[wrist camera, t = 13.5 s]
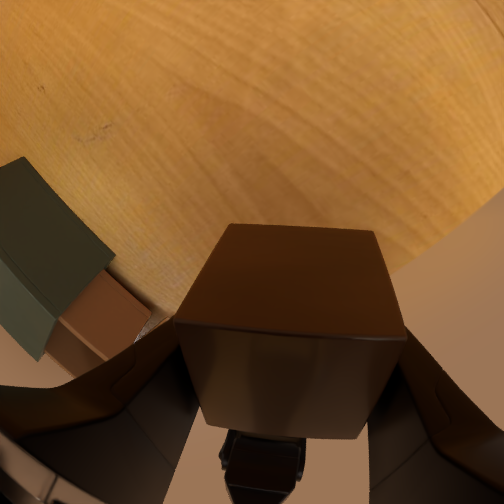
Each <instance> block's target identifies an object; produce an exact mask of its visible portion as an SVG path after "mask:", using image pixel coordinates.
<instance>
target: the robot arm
mask: <svg viewBox="0 0 504 504" xmlns="http://www.w3.org/2000/svg"><path fill="white" fill-rule="evenodd" d="M174 316H175V315H174ZM174 316H172V317H171V318H170V319H168V320H167V321H165V322H164V323H162V324H161V325H160V326H158V327H157V328H155V329H154V330H152V331H151V332H149V333H148V334H147V335H145V336H144V337H142V338H141V339H139V340H138V341H136V342H135V343H134V344H132V345H130V346H129V347H128V348H126V349H125V350H123V351H122V352H120V353H119V354H117V355H115V356H114V357H112V358H111V359H109V360H107V361H106V362H104V363H102V364H101V365H99V366H97V367H95V368H94V369H92V370H90V371H88V372H86V373H84V374H83V375H81V376H79V377H77V378H75V379H74V380H72V381H70V382H68V383H66V384H64V385H61V386H58V387H54V388H28V387H15V386H4V385H0V504H163V501H164V498H165V496H166V493H167V491H168V488H169V485H170V483H171V480H172V477H173V475H174V472H175V469H176V467H177V464H178V461H179V459H180V456H181V454H182V451H183V448H184V446H185V443H186V440H187V438H188V435H189V432H190V430H191V427H192V425H193V422H194V419H195V417H196V414H197V411H198V409H199V406H200V405H199V402H198V399H197V396H196V394H195V391H194V388H193V385H192V382H191V379H190V376H189V373H188V370H187V367H186V364H185V361H184V358H183V354H182V351H181V348H180V345H179V341H178V338H177V335H176V331H175V328H174V324H173V317H174ZM405 329H406V333H407V341H406V343H405V346H404V348H403V351H402V353H401V355H400V357H399V360H398V362H397V364H396V366H395V368H394V371H393V373H392V375H391V377H390V379H389V381H388V383H387V385H386V387H385V389H384V391H383V393H382V395H381V397H380V399H379V401H378V402H377V404H376V406H375V408H374V410H373V412H372V414H371V415H370V417H369V419H368V421H367V425H368V441H369V475H370V476H369V477H370V478H369V479H370V492H369V504H504V431H502V430H501V429H500V428H498V427H497V426H496V425H495V424H494V423H493V422H492V421H491V420H490V419H489V418H488V417H487V416H486V415H485V414H484V413H483V412H482V411H481V410H480V409H479V408H478V407H477V406H476V405H475V404H474V403H473V402H472V401H471V400H470V398H469V397H468V396H467V395H466V394H465V393H464V392H463V391H462V390H461V389H460V388H459V387H458V386H457V384H456V383H455V382H454V381H453V380H452V379H451V378H450V377H449V375H448V374H447V373H446V372H445V371H444V370H443V369H442V367H441V366H440V365H439V364H438V362H437V361H436V360H435V359H434V358H433V357H432V356H431V354H430V353H429V352H428V351H427V350H426V349H425V348H424V346H423V345H422V344H421V343H420V342H419V341H418V340H417V339H416V337H415V336H414V335H413V334H412V333H411V332H410V331H409V330H408V329H407V327H406V326H405ZM305 456H306V438H298V437H286V436H276V435H267V434H259V433H252V432H245V431H239V430H233V429H229V430H228V433H227V437H226V440H225V443H224V445H223V446H222V449H221V450H220V452H219V458H220V460H221V464H222V470H225V471H226V472H225V476H224V479H225V485H226V490H227V492H228V495H229V497H230V500H231V502H232V504H282V503H283V502H284V501H285V500H286V499H287V498H288V497H289V495H290V494H291V493H292V491H293V489H294V488H295V484H296V481H298V482H299V481H300V480H301V478H302V475H303V471H304V466H305Z"/></svg>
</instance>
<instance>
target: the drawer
mask: <svg viewBox="0 0 504 504" xmlns="http://www.w3.org/2000/svg"><path fill="white" fill-rule="evenodd" d="M151 314H152V312H151V311H149V310H148V309H147V308H146V307H145V306H144V305H142V304H141V303H140V302H139V301H138V300H137V299H136V298H134V297H133V296H132V295H131V294H130V293H129V292H128V291H127V290H125V289H124V288H123V287H122V286H121V285H120V284H119V283H118V282H117V281H116V280H114V279H113V278H112V277H111V276H110V275H109V274H108V273H107V272H106V271H105V270H104V269H103V270H102V271H101V272H100V273H99V274H98V275H97V276H96V277H95V278H94V279H93V280H92V281H91V282H90V283H89V285H88V286H87V287H86V288H85V289H84V290H83V291H82V292H81V293H80V294H79V295H78V297H77V298H76V299H75V300H74V301H73V302H72V303H71V304H70V305H69V307H68V308H67V309H66V310H65V311H64V312H63V313H62V315H61V316H60V317H59V319H58V321H57V323H56V325H55V327H54V329H53V332H52V334H51V336H50V338H49V341H48V343H47V345H46V347H45V350H44V352H45V353H46V354H47V355H48V356H49V357H50V358H51V359H52V360H53V361H54V362H56V363H57V364H58V365H59V366H60V367H61V368H63V369H64V370H65V371H66V372H67V373H68V374H70V375H71V376H72V377H73V378H74V379H75V378H77V377H79V376H81V375H83V374H84V373H86V372H88V371H90V370H92V369H94V368H95V367H97V366H99V365H101V364H102V363H104V362H106V361H107V360H109V359H111V358H112V357H114V356H115V355H117V354H119V353H120V352H122V351H123V350H125V349H126V348H128V347H129V346H130V345H132V344H133V342H134V341H135V339H136V337H137V336H138V334H139V333H140V331H141V329H142V328H143V326H144V325H145V323H146V322H147V320H148V318H149V317H150V315H151ZM168 319H170V318H169V317H167V318H166V319H164V320H163V321H162V322H161V323H159V324H158V325H157V326H156V327H154V328H153V329H152V330H154V329H155V328H157V327H158V326H160V325H161V324H162V323H164V322H165V321H167V320H168ZM152 330H151V331H152ZM151 331H149V332H151ZM149 332H148V333H149ZM148 333H147V334H148ZM147 334H146V335H147ZM144 336H145V335H144ZM144 336H143V337H144Z"/></svg>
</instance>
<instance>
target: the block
mask: <svg viewBox="0 0 504 504" xmlns="http://www.w3.org/2000/svg"><path fill="white" fill-rule="evenodd" d="M173 324H174V328H175V331H176V335H177V338H178V341H179V345H180V348H181V351H182V354H183V358H184V361H185V364H186V367H187V370H188V373H189V376H190V379H191V382H192V385H193V388H194V391H195V394H196V396H197V399H198V402H199V405H200V407H201V410H202V413H203V416H204V418H205V421H206V423H207V424H208V425H211V426H217V427H222V428H227V429H233V430H239V431H245V432H252V433H259V434H267V435H276V436H286V437H298V438H315V439H357V437H358V436H359V434H360V432H361V431H362V429H363V427H364V426H365V424H366V422H367V421H368V419H369V417H370V415H371V414H372V412H373V410H374V408H375V406H376V404H377V402H378V401H379V399H380V397H381V395H382V393H383V391H384V389H385V387H386V385H387V383H388V381H389V379H390V377H391V375H392V373H393V371H394V368H395V366H396V364H397V362H398V360H399V357H400V355H401V353H402V351H403V348H404V346H405V343H406V341H407V333H406V329H405V325H404V322H403V318H402V315H401V312H400V308H399V305H398V301H397V298H396V295H395V291H394V288H393V285H392V282H391V279H390V276H389V273H388V270H387V267H386V264H385V261H384V258H383V256H382V253H381V250H380V247H379V245H378V242H377V239H376V237H375V234H374V232H373V231H369V230H354V229H338V228H321V227H302V226H282V225H260V224H234V223H231V224H229V225H228V227H227V228H226V230H225V231H224V233H223V235H222V236H221V238H220V240H219V241H218V243H217V245H216V246H215V248H214V250H213V251H212V253H211V255H210V256H209V258H208V259H207V261H206V263H205V264H204V266H203V268H202V270H201V271H200V273H199V275H198V276H197V278H196V280H195V281H194V283H193V285H192V286H191V288H190V290H189V292H188V293H187V295H186V297H185V298H184V300H183V302H182V304H181V305H180V307H179V309H178V310H177V312H176V314H175V316H174V317H173Z"/></svg>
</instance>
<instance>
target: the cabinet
mask: <svg viewBox="0 0 504 504" xmlns="http://www.w3.org/2000/svg"><path fill="white" fill-rule="evenodd" d="M114 257H115V254H114V253H113V252H112V251H111V250H110V249H109V248H108V247H107V246H106V245H105V244H104V243H103V242H102V241H101V240H100V239H99V238H98V237H97V236H96V235H95V234H94V233H93V232H92V231H91V230H90V229H89V228H88V227H87V226H86V225H85V224H84V223H83V222H82V221H81V220H80V219H79V218H78V217H77V216H76V215H75V214H74V213H73V212H72V210H71V209H70V208H69V207H68V206H67V205H66V204H65V203H64V202H63V201H62V200H61V199H60V198H59V196H58V195H57V194H56V193H55V192H54V191H53V190H52V189H51V188H50V186H49V185H48V184H47V183H46V182H45V181H44V180H43V178H42V177H41V176H40V175H39V174H38V173H37V171H36V170H35V169H34V168H33V167H32V166H31V164H30V163H29V162H28V161H27V159H26V158H25V157H21V158H19V159H17V160H15V161H13V162H11V163H8V164H6V165H4V166H2V167H0V324H1V325H2V326H3V328H4V329H5V330H6V331H7V332H8V333H9V334H10V335H11V336H12V337H13V338H14V339H15V340H16V341H17V342H18V343H19V345H20V346H22V348H23V349H25V351H26V352H28V354H30V355H31V356H32V357H33V358H34V359H35V360H36V361H37V362H38V361H39V360H40V359H41V357H42V356H43V355H44V354H45V352H44V350H45V347H46V345H47V343H48V341H49V338H50V336H51V334H52V332H53V329H54V327H55V325H56V323H57V321H58V319H59V317H60V316H61V315H62V313H63V312H64V311H65V310H66V309H67V308H68V307H69V305H70V304H71V303H72V302H73V301H74V300H75V299H76V298H77V297H78V295H79V294H80V293H81V292H82V291H83V290H84V289H85V288H86V287H87V286H88V285H89V283H90V282H91V281H92V280H93V279H94V278H95V277H96V276H97V275H98V274H99V273H100V272H101V271H102V270H103V269H104V270H106V268H107V267H108V265H109V264H110V262H111V261H112V260H113V258H114Z"/></svg>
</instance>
